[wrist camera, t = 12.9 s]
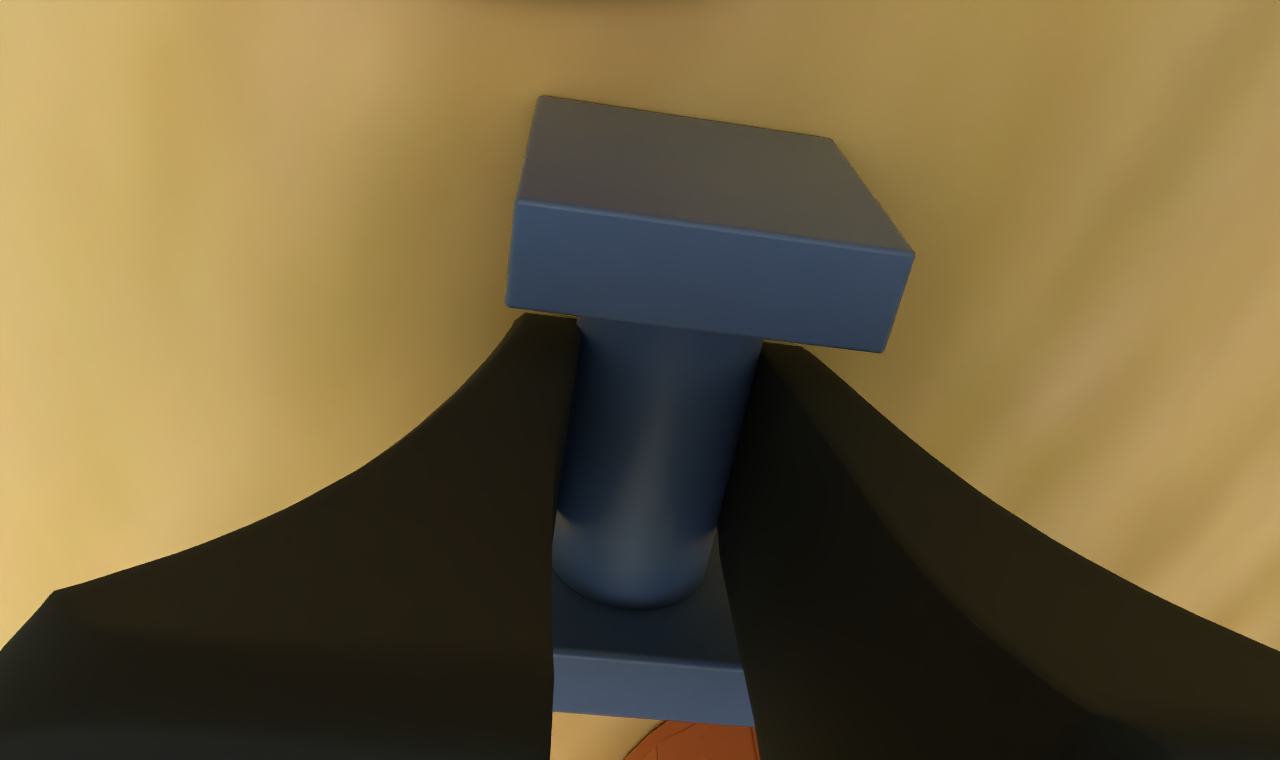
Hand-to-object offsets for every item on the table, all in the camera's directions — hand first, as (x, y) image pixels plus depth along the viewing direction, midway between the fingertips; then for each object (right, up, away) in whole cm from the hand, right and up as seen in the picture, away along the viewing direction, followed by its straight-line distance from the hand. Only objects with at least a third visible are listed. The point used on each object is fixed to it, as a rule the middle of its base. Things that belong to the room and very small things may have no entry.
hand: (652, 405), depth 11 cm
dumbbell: (0, +1, +1) cm, 1 cm away
